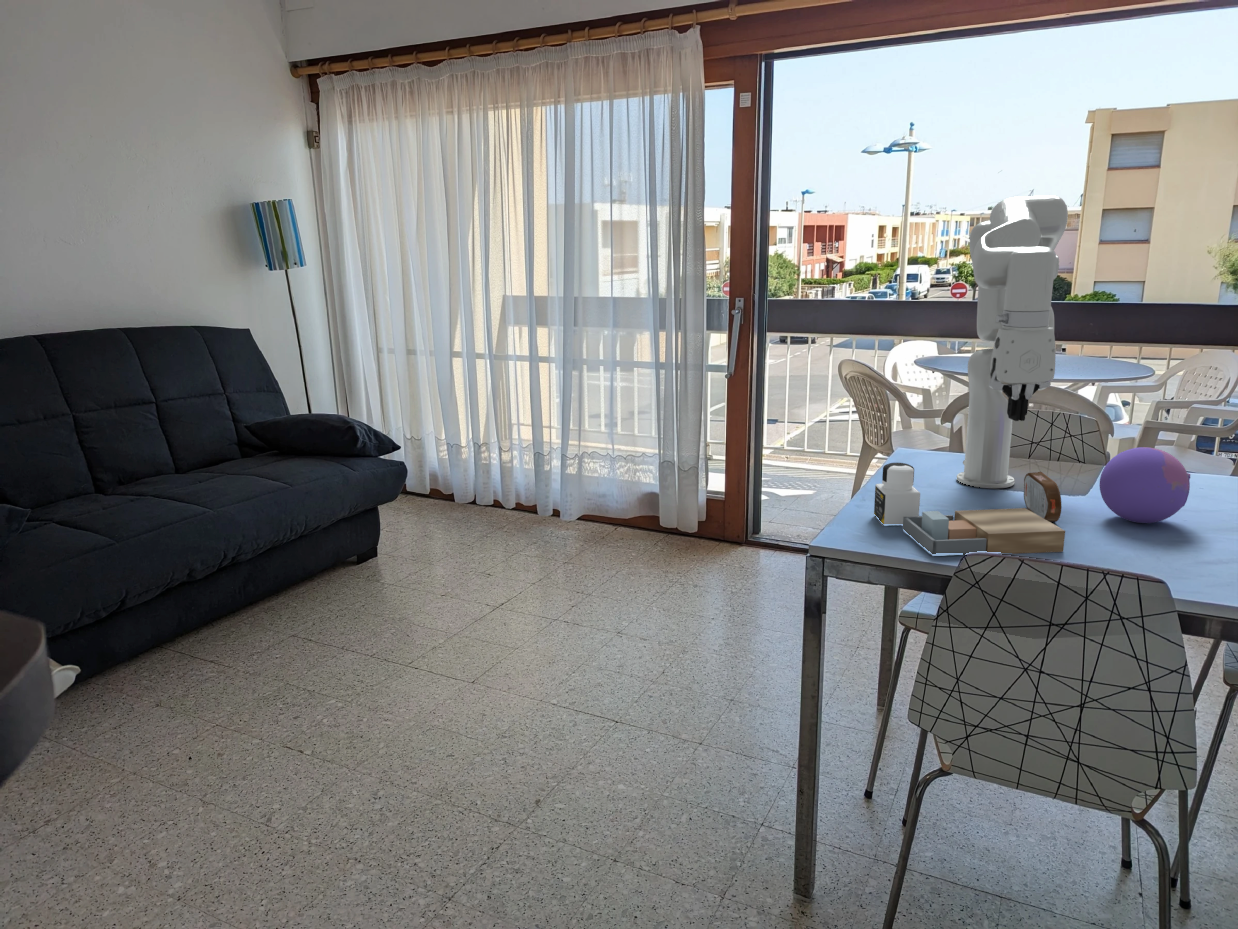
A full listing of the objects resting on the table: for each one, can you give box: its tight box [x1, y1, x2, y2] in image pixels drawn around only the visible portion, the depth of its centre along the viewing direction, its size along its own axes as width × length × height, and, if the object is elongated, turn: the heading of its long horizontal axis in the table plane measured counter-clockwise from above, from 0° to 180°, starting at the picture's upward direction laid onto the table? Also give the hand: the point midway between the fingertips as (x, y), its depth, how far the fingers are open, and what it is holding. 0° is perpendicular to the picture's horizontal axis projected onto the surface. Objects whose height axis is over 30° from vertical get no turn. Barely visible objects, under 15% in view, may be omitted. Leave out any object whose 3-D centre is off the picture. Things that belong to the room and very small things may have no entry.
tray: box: [902, 514, 987, 555], centre depth 154 cm, size 14×10×3 cm
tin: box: [1023, 471, 1062, 523], centre depth 167 cm, size 15×3×8 cm, turn 172°
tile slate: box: [921, 510, 949, 540], centre depth 153 cm, size 5×5×3 cm
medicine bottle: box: [873, 462, 921, 524], centre depth 166 cm, size 7×7×12 cm
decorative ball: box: [1099, 446, 1191, 524], centre depth 161 cm, size 15×15×15 cm
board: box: [953, 507, 1066, 555], centre depth 154 cm, size 14×14×4 cm
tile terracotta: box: [948, 520, 977, 540], centre depth 154 cm, size 5×5×3 cm
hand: (1016, 419), depth 152 cm, fingers closed
